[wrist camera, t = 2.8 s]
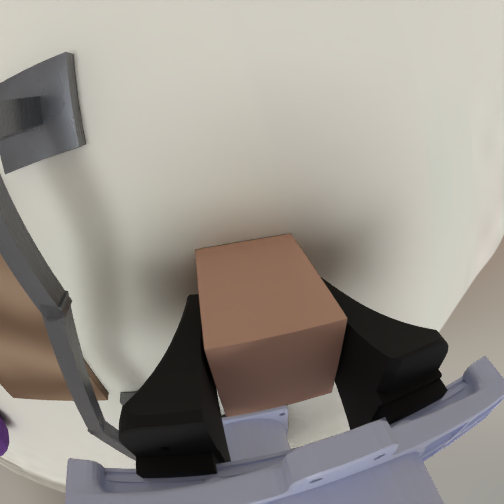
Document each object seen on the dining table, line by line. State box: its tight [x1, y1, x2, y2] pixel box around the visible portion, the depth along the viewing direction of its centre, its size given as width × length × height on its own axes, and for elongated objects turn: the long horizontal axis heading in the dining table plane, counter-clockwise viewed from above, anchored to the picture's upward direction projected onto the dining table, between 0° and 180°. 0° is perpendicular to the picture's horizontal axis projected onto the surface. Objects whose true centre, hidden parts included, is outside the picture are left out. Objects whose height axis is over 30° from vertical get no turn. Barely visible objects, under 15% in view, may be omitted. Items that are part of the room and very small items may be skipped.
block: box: [195, 234, 347, 417], centre depth 12 cm, size 4×4×6 cm
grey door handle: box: [0, 52, 136, 461], centre depth 11 cm, size 24×4×5 cm, turn 5°
